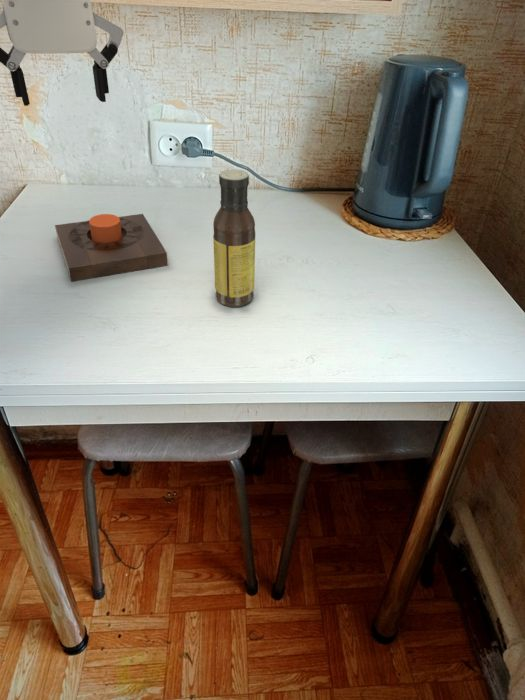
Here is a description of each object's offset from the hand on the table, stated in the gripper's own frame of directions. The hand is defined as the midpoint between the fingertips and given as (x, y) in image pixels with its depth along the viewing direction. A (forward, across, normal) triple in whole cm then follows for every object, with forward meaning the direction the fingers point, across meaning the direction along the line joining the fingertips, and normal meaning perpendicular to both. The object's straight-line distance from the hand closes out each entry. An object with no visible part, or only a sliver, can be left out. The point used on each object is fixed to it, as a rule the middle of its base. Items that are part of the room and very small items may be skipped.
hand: (64, 101), depth 68 cm
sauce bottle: (+26, -19, +15) cm, 36 cm away
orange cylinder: (+26, -4, -8) cm, 28 cm away
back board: (+26, -4, -6) cm, 27 cm away
